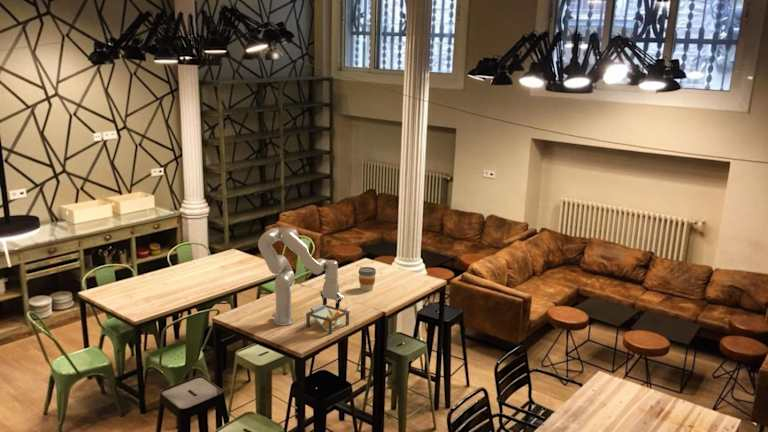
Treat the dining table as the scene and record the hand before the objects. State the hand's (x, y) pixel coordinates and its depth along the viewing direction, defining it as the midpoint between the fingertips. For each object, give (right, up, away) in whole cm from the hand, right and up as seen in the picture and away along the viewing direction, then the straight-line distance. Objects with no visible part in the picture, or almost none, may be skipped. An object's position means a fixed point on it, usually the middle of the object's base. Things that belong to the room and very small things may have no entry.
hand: (331, 306), depth 422 cm
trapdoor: (-4, -8, +5) cm, 10 cm away
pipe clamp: (0, -10, +3) cm, 11 cm away
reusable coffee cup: (+20, +3, +74) cm, 77 cm away
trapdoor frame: (-2, -13, +4) cm, 14 cm away
